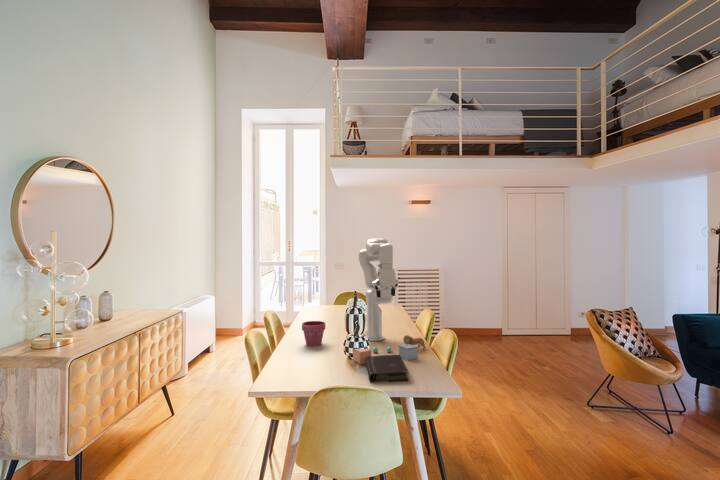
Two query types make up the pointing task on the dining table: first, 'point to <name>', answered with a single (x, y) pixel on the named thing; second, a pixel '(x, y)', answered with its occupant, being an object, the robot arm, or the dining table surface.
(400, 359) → the diary
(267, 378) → the dining table surface
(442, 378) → the dining table surface
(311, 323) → the plant pot
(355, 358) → the reddish brown cube
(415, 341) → the lion figurine
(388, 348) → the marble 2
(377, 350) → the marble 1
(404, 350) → the blue cube
